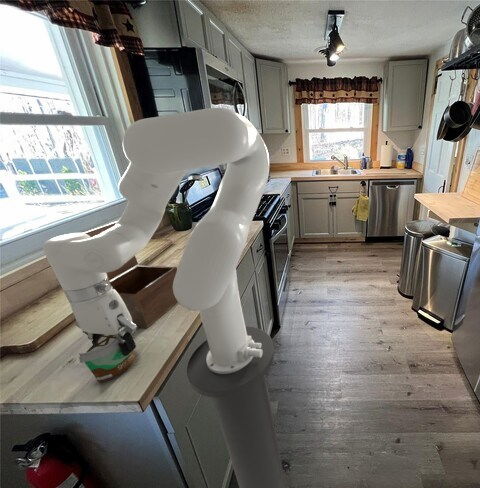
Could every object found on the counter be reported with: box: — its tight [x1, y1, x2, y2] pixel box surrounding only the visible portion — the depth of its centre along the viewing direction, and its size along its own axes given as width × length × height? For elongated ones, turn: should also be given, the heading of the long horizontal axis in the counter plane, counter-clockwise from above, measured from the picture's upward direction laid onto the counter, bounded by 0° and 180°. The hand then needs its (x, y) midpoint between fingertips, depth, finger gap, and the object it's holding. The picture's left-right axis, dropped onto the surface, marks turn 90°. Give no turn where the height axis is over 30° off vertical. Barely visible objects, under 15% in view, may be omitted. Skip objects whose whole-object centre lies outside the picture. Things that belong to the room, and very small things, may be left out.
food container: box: [78, 325, 136, 383], centre depth 64 cm, size 12×6×10 cm, turn 4°
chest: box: [109, 264, 179, 329], centre depth 86 cm, size 16×18×12 cm
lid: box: [83, 220, 139, 281], centre depth 81 cm, size 16×18×1 cm
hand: (117, 349), depth 64 cm, fingers closed on food container, 6 cm apart
